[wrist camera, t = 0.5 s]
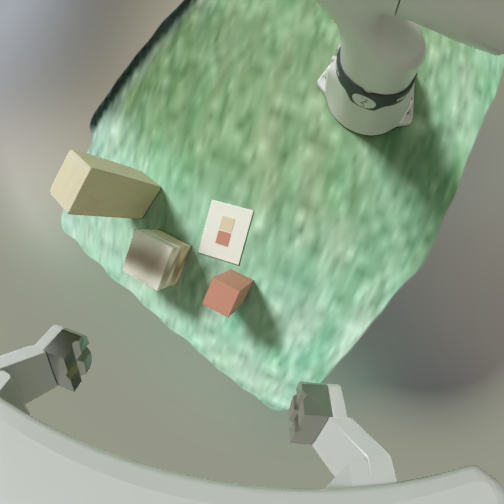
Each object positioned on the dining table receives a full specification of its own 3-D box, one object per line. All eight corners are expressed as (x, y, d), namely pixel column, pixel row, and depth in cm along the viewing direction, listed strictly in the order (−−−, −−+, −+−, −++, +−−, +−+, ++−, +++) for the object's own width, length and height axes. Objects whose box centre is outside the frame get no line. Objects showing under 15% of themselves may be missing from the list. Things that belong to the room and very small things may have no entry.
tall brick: (231, 269, 54) (212, 277, 45) (253, 280, 54) (239, 291, 44) (222, 291, 55) (202, 303, 45) (243, 302, 54) (228, 317, 45)
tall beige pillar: (139, 167, 57) (68, 146, 37) (162, 186, 56) (92, 168, 36) (120, 199, 59) (46, 190, 38) (142, 219, 58) (68, 216, 37)
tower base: (158, 229, 57) (135, 229, 49) (191, 245, 56) (172, 248, 48) (145, 265, 58) (122, 270, 50) (177, 283, 57) (157, 291, 49)
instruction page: (212, 199, 54) (211, 199, 54) (253, 210, 53) (253, 210, 53) (198, 252, 56) (197, 252, 55) (238, 264, 54) (238, 265, 54)
